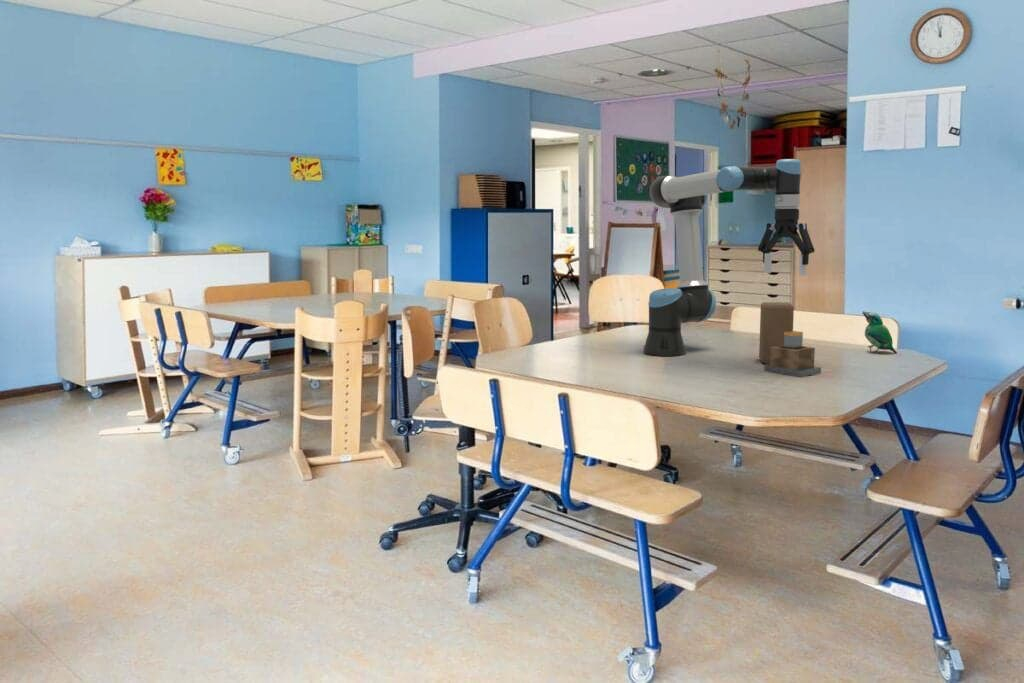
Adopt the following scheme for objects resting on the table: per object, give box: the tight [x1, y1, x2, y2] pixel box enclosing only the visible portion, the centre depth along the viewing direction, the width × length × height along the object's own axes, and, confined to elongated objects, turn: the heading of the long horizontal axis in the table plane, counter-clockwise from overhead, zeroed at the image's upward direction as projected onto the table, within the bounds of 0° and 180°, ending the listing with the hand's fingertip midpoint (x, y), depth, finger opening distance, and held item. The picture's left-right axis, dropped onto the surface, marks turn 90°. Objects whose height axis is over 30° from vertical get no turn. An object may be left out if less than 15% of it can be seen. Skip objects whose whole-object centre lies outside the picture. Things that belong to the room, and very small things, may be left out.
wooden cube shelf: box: [769, 345, 816, 370], centre depth 271 cm, size 10×10×6 cm
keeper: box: [763, 330, 822, 378], centre depth 271 cm, size 14×10×13 cm
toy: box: [861, 310, 898, 354], centre depth 305 cm, size 12×8×15 cm, turn 73°
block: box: [758, 301, 795, 364], centre depth 290 cm, size 10×10×20 cm
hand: (784, 274), depth 276 cm, fingers open, 13 cm apart
